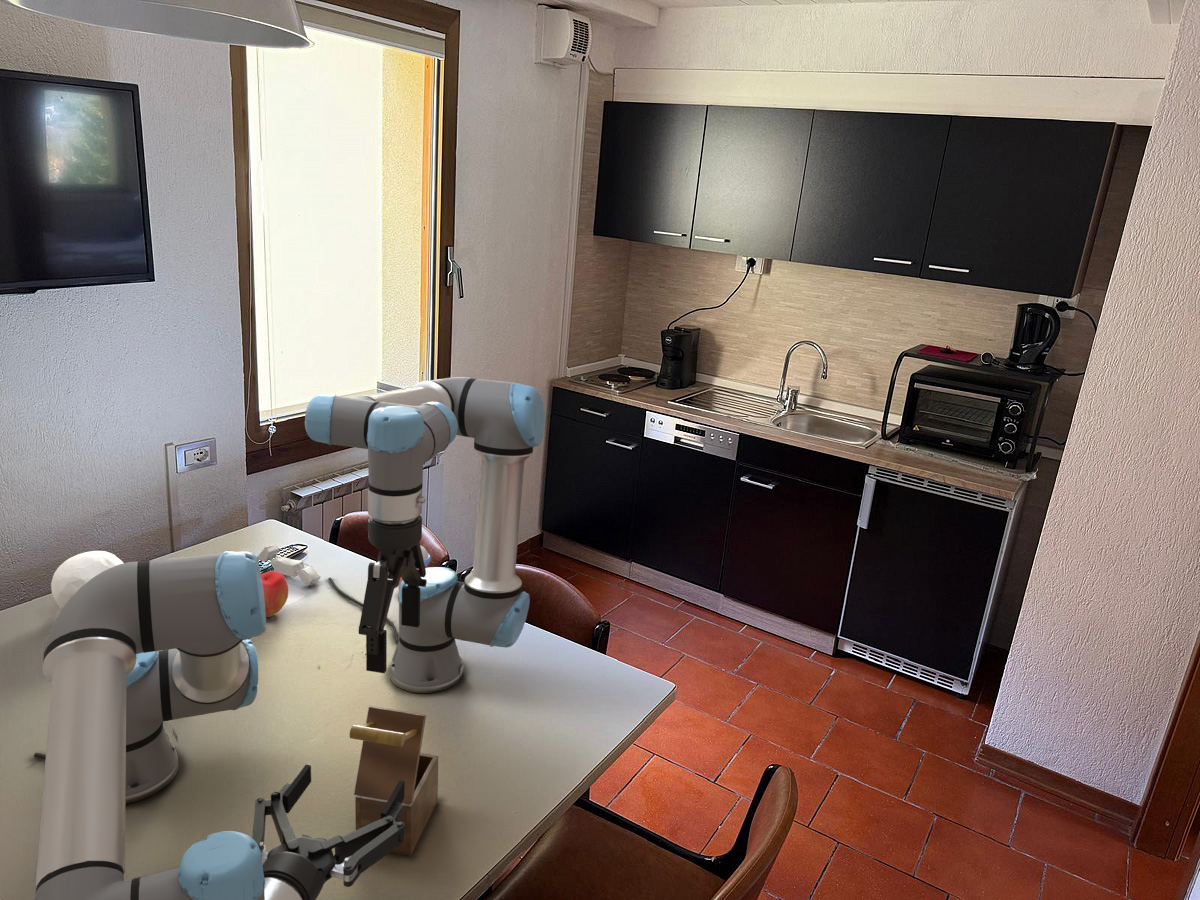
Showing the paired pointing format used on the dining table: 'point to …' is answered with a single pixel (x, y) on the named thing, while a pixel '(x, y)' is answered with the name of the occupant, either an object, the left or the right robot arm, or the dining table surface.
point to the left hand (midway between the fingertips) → (355, 780)
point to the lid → (388, 752)
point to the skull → (79, 573)
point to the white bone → (289, 565)
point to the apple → (274, 592)
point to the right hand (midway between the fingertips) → (394, 647)
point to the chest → (406, 805)
